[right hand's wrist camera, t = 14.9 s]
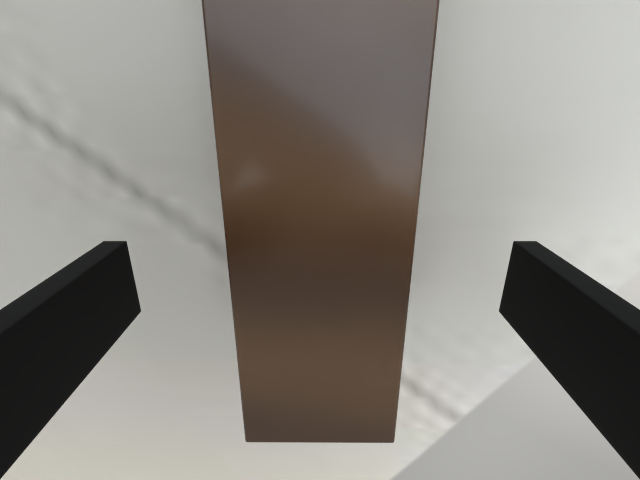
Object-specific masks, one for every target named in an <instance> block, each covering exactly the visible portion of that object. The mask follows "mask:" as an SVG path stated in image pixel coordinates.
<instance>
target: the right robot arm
mask: <svg viewBox="0 0 640 480" xmlns="http://www.w3.org/2000/svg"><path fill="white" fill-rule="evenodd" d="M140 312H141V309H140V304H139V299H138V294H137V290H136V285H135V280H134V275H133V271H132V266H131V261H130V256H129V251H128V247H127V242H126V241H103V242H102V243H100V244H99V245H97V246H96V247H94V248H93V249H91V250H90V251H88V252H87V253H85V254H84V255H82V256H81V257H79V258H78V259H76V260H75V261H73V262H72V263H70V264H69V265H67V266H66V267H64V268H63V269H61V270H60V271H58V272H57V273H55V274H54V275H52V276H51V277H49V278H48V279H46V280H45V281H43V282H42V283H40V284H39V285H37V286H36V287H34V288H33V289H31V290H30V291H28V292H27V293H25V294H24V295H22V296H21V297H19V298H18V299H16V300H15V301H13V302H11V303H10V304H8V305H7V306H5V307H4V308H2V309H1V310H0V479H1V478H2V476H3V475H4V474H5V473H6V472H7V470H8V469H9V468H10V467H11V466H12V465H13V463H14V462H15V461H16V460H17V459H18V457H19V456H20V455H21V454H22V453H23V451H24V450H25V449H26V448H27V447H28V445H29V444H30V443H31V442H32V441H33V439H34V438H35V437H36V436H37V435H38V434H39V432H40V431H41V430H42V429H43V428H44V426H45V425H46V424H47V423H48V422H49V420H50V419H51V418H52V417H53V416H54V414H55V413H56V412H57V411H58V410H59V408H60V407H61V406H62V405H63V404H64V403H65V401H66V400H67V399H68V398H69V397H70V395H71V394H72V393H73V392H74V391H75V389H76V388H77V387H78V386H79V385H80V383H81V382H82V381H83V380H84V379H85V377H86V376H87V375H88V374H89V373H90V372H91V370H92V369H93V368H94V367H95V366H96V364H97V363H98V362H99V361H100V360H101V358H102V357H103V356H104V355H105V354H106V352H107V351H108V350H109V349H110V348H111V346H112V345H113V344H114V343H115V342H116V340H117V339H118V338H119V337H120V336H121V335H122V333H123V332H124V331H125V330H126V329H127V327H128V326H129V325H130V324H131V323H132V321H133V320H134V319H135V318H136V317H137V315H138V314H139V313H140ZM499 312H500V313H501V314H502V315H503V317H504V318H505V319H506V320H507V321H508V323H509V324H510V325H511V326H512V327H513V329H514V330H515V331H516V332H517V333H518V335H519V336H520V337H521V338H522V339H523V340H524V342H525V343H526V344H527V345H528V346H529V348H530V349H531V350H532V351H533V352H534V354H535V355H536V356H537V357H538V358H539V360H540V361H541V362H542V363H543V364H544V366H545V367H546V368H547V369H548V370H549V371H550V373H551V374H552V375H553V376H554V377H555V379H556V380H557V381H558V382H559V383H560V385H561V386H562V387H563V388H564V389H565V391H566V392H567V393H568V394H569V395H570V396H571V398H572V399H573V400H574V401H575V402H576V404H577V405H578V406H579V407H580V408H581V410H582V411H583V412H584V413H585V414H586V416H587V417H588V418H589V419H590V420H591V422H592V423H593V424H594V425H595V426H596V428H597V429H598V430H599V431H600V432H601V434H602V435H603V436H604V437H605V438H606V439H607V441H608V442H609V443H610V444H611V445H612V447H613V448H614V449H615V450H616V451H617V453H618V454H619V455H620V456H621V457H622V458H623V460H624V461H625V462H626V463H627V465H628V466H629V467H630V468H631V469H632V470H633V472H634V473H635V474H636V475H637V476H638V478H639V479H640V310H639V309H638V308H636V307H635V306H633V305H631V304H630V303H629V302H627V301H625V300H624V299H622V298H621V297H619V296H618V295H616V294H615V293H613V292H612V291H610V290H609V289H607V288H606V287H604V286H603V285H601V284H600V283H598V282H597V281H595V280H594V279H592V278H591V277H589V276H588V275H586V274H585V273H583V272H582V271H580V270H579V269H577V268H576V267H574V266H573V265H571V264H570V263H568V262H567V261H565V260H564V259H562V258H561V257H559V256H558V255H556V254H555V253H553V252H552V251H550V250H549V249H547V248H546V247H544V246H543V245H541V244H540V243H538V242H537V241H514V242H513V247H512V251H511V256H510V261H509V266H508V271H507V275H506V280H505V285H504V290H503V294H502V299H501V304H500V309H499Z"/></svg>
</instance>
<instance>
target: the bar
mask: <svg viewBox="0 0 640 480" xmlns="http://www.w3.org/2000/svg"><path fill="white" fill-rule="evenodd" d="M202 8H203V18H204V28H205V38H206V49H207V59H208V69H209V79H210V89H211V99H212V109H213V119H214V129H215V139H216V149H217V159H218V169H219V179H220V189H221V199H222V209H223V219H224V229H225V239H226V249H227V259H228V270H229V280H230V290H231V300H232V310H233V320H234V330H235V340H236V350H237V360H238V370H239V380H240V390H241V400H242V410H243V420H244V430H245V440H246V442H342V443H393V442H394V438H395V428H396V418H397V409H398V399H399V389H400V379H401V370H402V360H403V350H404V340H405V331H406V321H407V311H408V301H409V292H410V282H411V272H412V262H413V253H414V243H415V233H416V223H417V214H418V204H419V194H420V185H421V175H422V165H423V155H424V146H425V136H426V126H427V116H428V107H429V97H430V87H431V77H432V68H433V58H434V48H435V38H436V29H437V19H438V9H439V0H202Z"/></svg>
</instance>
